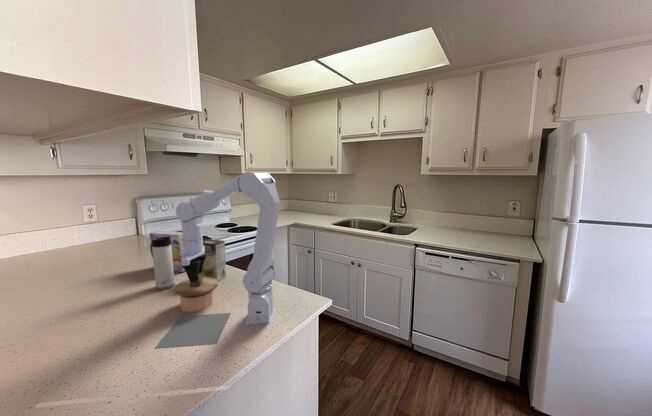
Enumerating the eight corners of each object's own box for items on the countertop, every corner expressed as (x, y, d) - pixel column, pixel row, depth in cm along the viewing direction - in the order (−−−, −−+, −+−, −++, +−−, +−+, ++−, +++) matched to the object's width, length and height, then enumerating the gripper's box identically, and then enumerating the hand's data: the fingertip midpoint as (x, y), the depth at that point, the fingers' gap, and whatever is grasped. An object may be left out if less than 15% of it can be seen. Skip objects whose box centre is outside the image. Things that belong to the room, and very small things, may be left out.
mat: (216, 345, 67) (216, 343, 67) (154, 350, 66) (154, 348, 66) (231, 314, 82) (231, 312, 82) (180, 317, 81) (180, 316, 81)
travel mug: (166, 290, 99) (162, 239, 97) (152, 289, 101) (146, 238, 98) (179, 283, 105) (175, 235, 103) (165, 282, 107) (160, 234, 104)
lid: (211, 295, 81) (210, 282, 80) (166, 297, 79) (165, 283, 79) (222, 278, 94) (222, 267, 93) (184, 279, 92) (183, 268, 92)
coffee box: (198, 280, 109) (195, 242, 107) (209, 274, 115) (206, 238, 113) (217, 282, 106) (215, 244, 104) (227, 276, 113) (225, 240, 110)
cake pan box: (151, 268, 123) (147, 231, 121) (161, 264, 128) (157, 229, 125) (181, 273, 116) (178, 234, 114) (191, 269, 121) (188, 232, 119)
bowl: (208, 312, 84) (207, 297, 83) (175, 314, 83) (174, 299, 82) (217, 297, 94) (217, 284, 93) (188, 299, 93) (187, 285, 92)
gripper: (188, 234, 91) (191, 271, 93) (168, 245, 77) (172, 289, 79) (209, 233, 92) (212, 270, 94) (194, 244, 78) (197, 288, 79)
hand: (195, 279), depth 86 cm, fingers closed on lid, 3 cm apart
